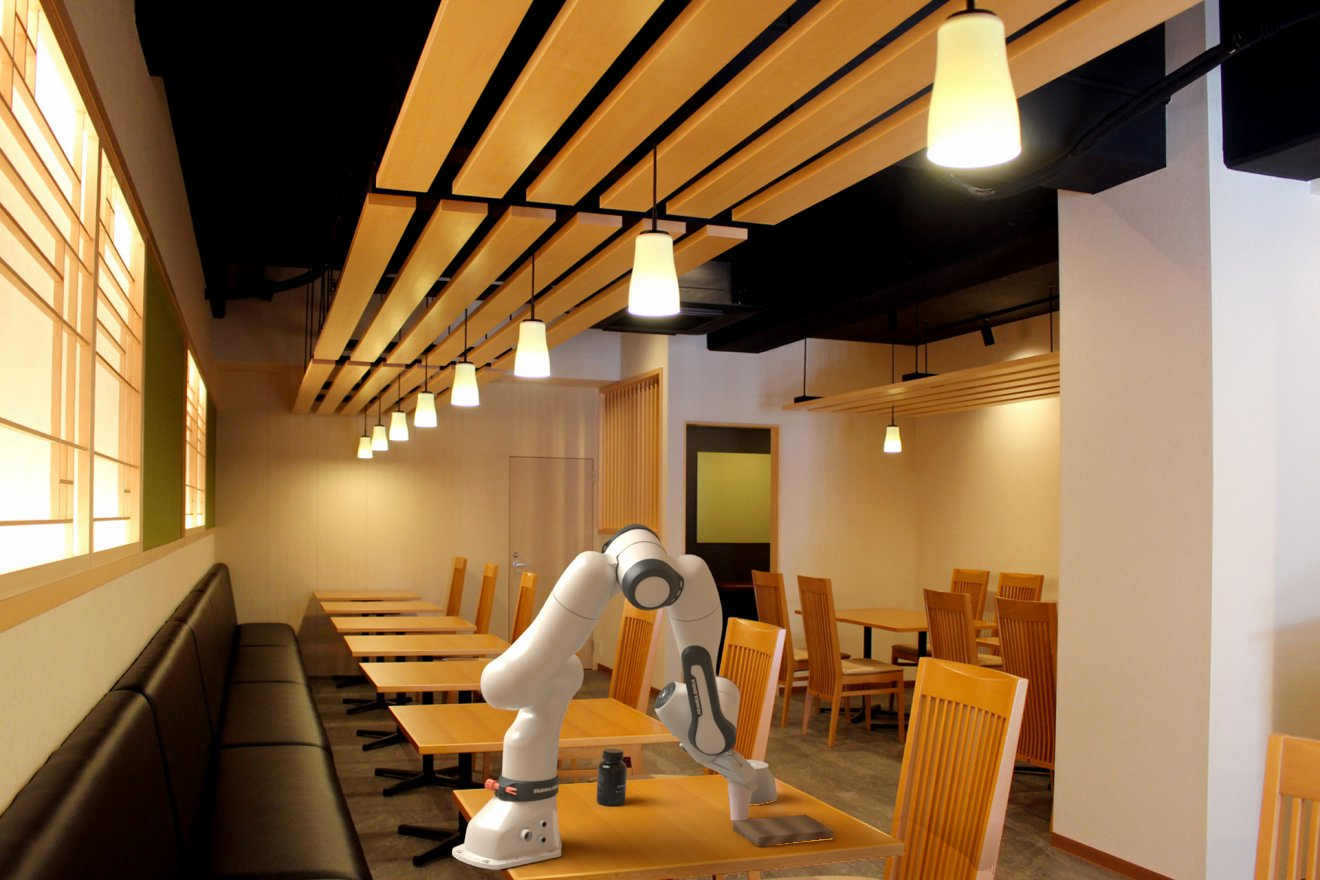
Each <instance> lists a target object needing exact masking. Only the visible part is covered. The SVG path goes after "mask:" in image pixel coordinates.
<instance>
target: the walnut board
mask: <svg viewBox="0 0 1320 880" xmlns="http://www.w3.org/2000/svg"><path fill="white" fill-rule="evenodd" d="M732 831H733V832H735V833H737V835H739V834H740V835H739V836H741V835H742V836H743V838H744V837H745V838H747V839H748V840H749V842H750V841H751V842H753V843H754V844H756V845H757V846H758V847H757V846H756V845H755V846H756V847H757V848H760V847H759V846H766V847H769V846H768V845H776V846H778V845H777V844H785V843H793V842H802V841H811V840H819V839H830V838H834V839H835V830H834V829H833V828H831V827H829V826H827V825H826V824H823V823H822V822H821V821H818V820H816V819H815V818H813V817H811V816H809V815H807V814H796V815H795V814H794V815H785V816H784V815H783V816H774V817H763V818H762V817H761V818H748V819H747V820H736V821H732ZM742 836H741V837H742ZM745 838H744V839H745ZM747 839H746V840H747ZM748 840H747V841H748ZM751 842H750V843H751ZM753 843H752V844H753ZM754 844H753V845H754Z"/></svg>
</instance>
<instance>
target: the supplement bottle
mask: <svg viewBox="0 0 1320 880" xmlns="http://www.w3.org/2000/svg"><path fill="white" fill-rule="evenodd" d="M601 756H602V757H601V758H602V761H599V764H598V765H597V784H596V802H597V804H599V805H601V806H605V807H618V806H619V807H620V806H622V805H624V804H625V803H626V795H627V773H628V771H627V770H628V769H627V768H628V767H627V764H626V763H625V762H624V761H623V760H624V751H623V750H622V749H619V748H606V749H603V751H602V755H601Z"/></svg>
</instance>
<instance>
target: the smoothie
mask: <svg viewBox="0 0 1320 880" xmlns="http://www.w3.org/2000/svg"><path fill="white" fill-rule="evenodd" d="M725 780H726V782H727V786H728V787H727V790H728V803H729V812H730V821H732V820H733V821H736V820H747V819H749V813H750V800H751V793H752V792H751V791H749V790H748V789H747V788H746V785H745V784H743V783H741V782H738V781H736V780H734V779H732V778H730V777H727V779H725ZM754 782H755V781H754ZM733 821H732V822H733Z"/></svg>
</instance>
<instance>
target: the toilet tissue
mask: <svg viewBox="0 0 1320 880" xmlns="http://www.w3.org/2000/svg"><path fill="white" fill-rule="evenodd" d="M746 760H747V761H748V762H749V763H750V765H751V766H752V767H753V768H754V769H755V770H756V771H757V776H756V778H755V779H754V781H755V783H756V785H757V786H758V788H757V789H756V791H755V792H752V793H751V800H750V804H761V803H766V802H771V801H774V800H776V799H777V798H778V793H777V787H776V780H775V775H774V774H773V773H772V772H771V770H770V768H769V763H766V762H764V761H762V760H755V759H746ZM778 799H779V798H778ZM776 801H777V800H776Z"/></svg>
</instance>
